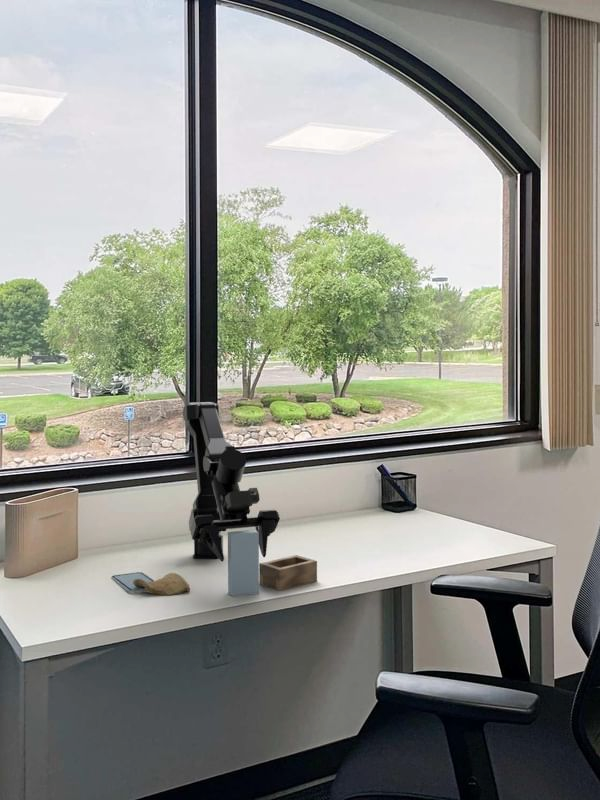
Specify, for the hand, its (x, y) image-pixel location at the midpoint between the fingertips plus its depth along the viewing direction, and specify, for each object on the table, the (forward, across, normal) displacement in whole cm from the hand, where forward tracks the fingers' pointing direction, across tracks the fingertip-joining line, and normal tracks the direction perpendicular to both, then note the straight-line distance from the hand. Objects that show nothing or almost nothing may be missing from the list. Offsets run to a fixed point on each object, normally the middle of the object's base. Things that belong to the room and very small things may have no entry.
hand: (243, 558), depth 165 cm
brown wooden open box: (+2, +12, +8) cm, 14 cm away
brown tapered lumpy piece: (-1, -15, +12) cm, 20 cm away
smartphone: (-6, -20, +17) cm, 27 cm away
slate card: (+5, 0, +6) cm, 8 cm away
